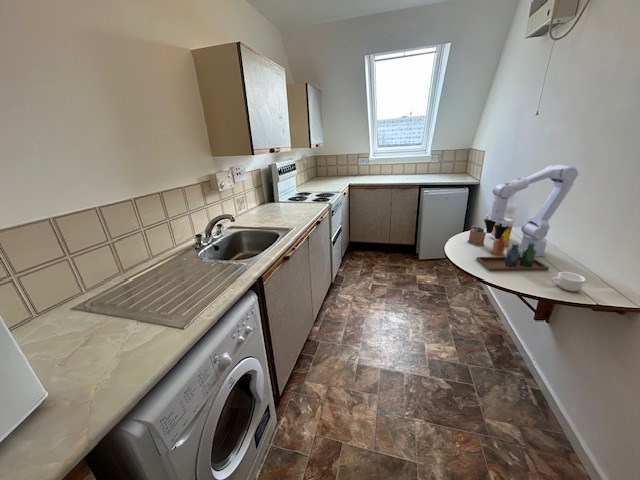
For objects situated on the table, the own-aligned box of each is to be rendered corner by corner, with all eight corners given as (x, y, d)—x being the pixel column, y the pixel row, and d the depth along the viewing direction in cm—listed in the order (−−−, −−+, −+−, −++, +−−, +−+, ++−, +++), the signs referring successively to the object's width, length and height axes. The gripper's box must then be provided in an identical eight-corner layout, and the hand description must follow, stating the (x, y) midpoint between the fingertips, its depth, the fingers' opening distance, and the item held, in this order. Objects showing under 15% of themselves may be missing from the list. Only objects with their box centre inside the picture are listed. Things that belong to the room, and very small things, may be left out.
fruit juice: (486, 236, 158) (496, 190, 147) (497, 234, 160) (508, 188, 150) (500, 242, 149) (512, 193, 139) (512, 239, 152) (525, 191, 142)
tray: (529, 259, 129) (530, 256, 128) (547, 271, 118) (549, 267, 117) (475, 260, 130) (476, 257, 129) (488, 272, 120) (489, 268, 119)
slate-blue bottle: (512, 262, 126) (517, 242, 122) (519, 267, 122) (525, 246, 118) (501, 262, 126) (506, 242, 122) (508, 267, 122) (513, 246, 118)
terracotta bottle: (499, 251, 138) (503, 233, 134) (505, 256, 134) (510, 236, 130) (489, 252, 139) (493, 233, 135) (495, 256, 134) (499, 237, 130)
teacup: (573, 284, 108) (577, 272, 106) (585, 294, 101) (590, 282, 99) (544, 281, 111) (548, 270, 109) (554, 291, 104) (558, 279, 102)
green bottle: (527, 262, 126) (533, 241, 122) (535, 267, 121) (541, 246, 117) (516, 262, 126) (522, 241, 122) (523, 267, 121) (529, 246, 118)
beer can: (509, 247, 143) (516, 220, 137) (498, 247, 143) (504, 221, 138) (502, 242, 149) (509, 217, 143) (491, 243, 149) (497, 217, 143)
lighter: (484, 244, 147) (488, 227, 144) (482, 246, 145) (485, 229, 142) (469, 240, 153) (472, 224, 149) (466, 242, 151) (469, 225, 147)
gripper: (482, 205, 134) (477, 230, 139) (499, 214, 121) (493, 241, 126) (496, 205, 134) (491, 230, 139) (515, 213, 121) (508, 241, 126)
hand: (493, 235), depth 133 cm, fingers open, 7 cm apart
